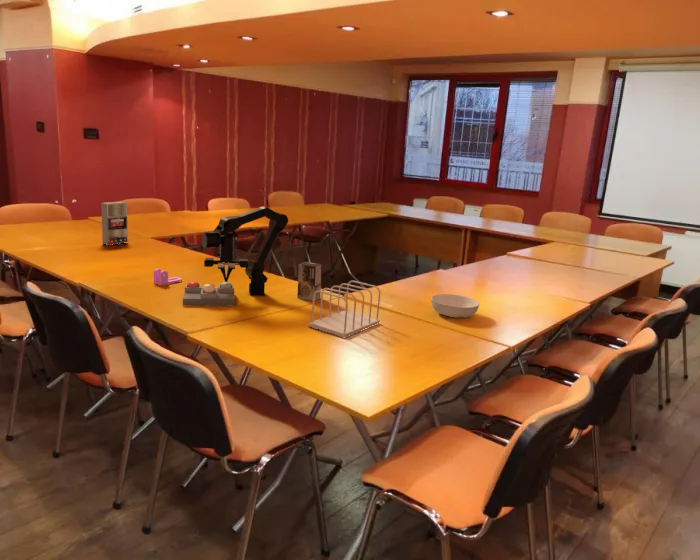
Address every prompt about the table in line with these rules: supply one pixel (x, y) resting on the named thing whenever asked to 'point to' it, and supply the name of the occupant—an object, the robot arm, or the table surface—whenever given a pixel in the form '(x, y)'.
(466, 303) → the serving bowl
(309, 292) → the coffee box
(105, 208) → the cassette tape recorder
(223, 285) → the sage button
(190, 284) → the red button
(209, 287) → the cream button
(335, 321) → the file sorter
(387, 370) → the table surface
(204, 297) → the control panel
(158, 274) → the bracket
